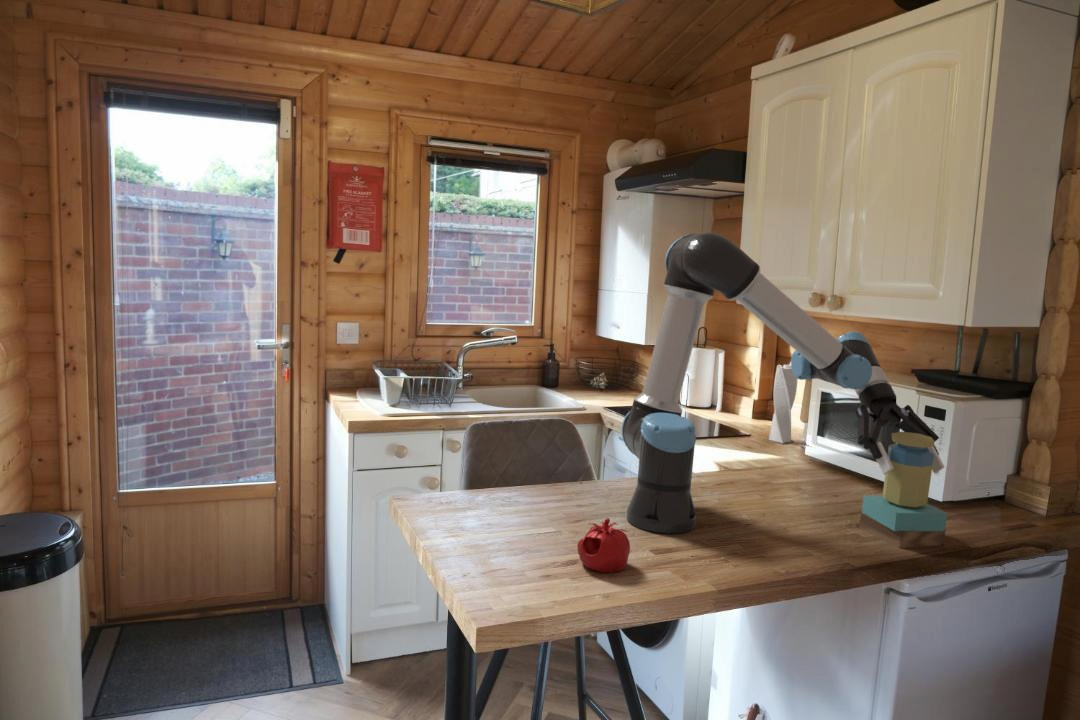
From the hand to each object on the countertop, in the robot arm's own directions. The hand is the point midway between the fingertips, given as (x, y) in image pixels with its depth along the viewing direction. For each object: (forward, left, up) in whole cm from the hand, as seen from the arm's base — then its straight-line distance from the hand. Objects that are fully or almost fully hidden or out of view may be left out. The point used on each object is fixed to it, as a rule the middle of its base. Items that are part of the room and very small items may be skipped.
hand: (914, 470), depth 163 cm
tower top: (0, +2, -12) cm, 12 cm away
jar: (0, +2, -8) cm, 8 cm away
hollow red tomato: (-73, -4, -16) cm, 75 cm away
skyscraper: (+28, +88, -16) cm, 94 cm away
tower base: (0, +2, -16) cm, 16 cm away
